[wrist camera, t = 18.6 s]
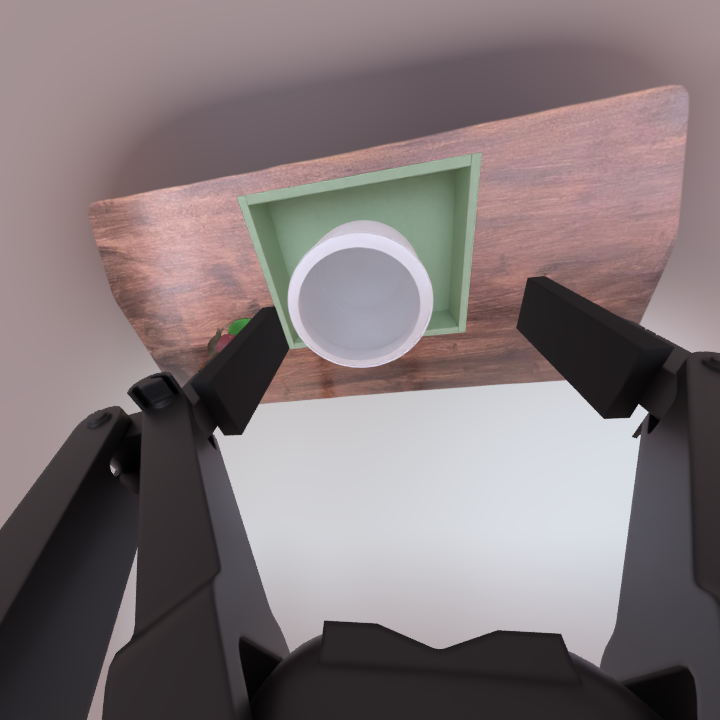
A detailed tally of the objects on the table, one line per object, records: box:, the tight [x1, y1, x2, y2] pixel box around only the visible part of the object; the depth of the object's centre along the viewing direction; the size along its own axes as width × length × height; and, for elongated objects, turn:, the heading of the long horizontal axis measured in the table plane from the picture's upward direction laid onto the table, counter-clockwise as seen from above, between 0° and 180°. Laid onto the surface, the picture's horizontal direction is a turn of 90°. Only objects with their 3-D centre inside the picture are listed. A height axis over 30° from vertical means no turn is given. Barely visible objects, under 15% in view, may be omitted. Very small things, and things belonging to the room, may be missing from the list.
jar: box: [288, 220, 433, 368], centre depth 25 cm, size 11×10×15 cm
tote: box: [237, 152, 482, 349], centre depth 29 cm, size 22×17×6 cm
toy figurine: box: [201, 319, 251, 368], centre depth 54 cm, size 12×13×15 cm
